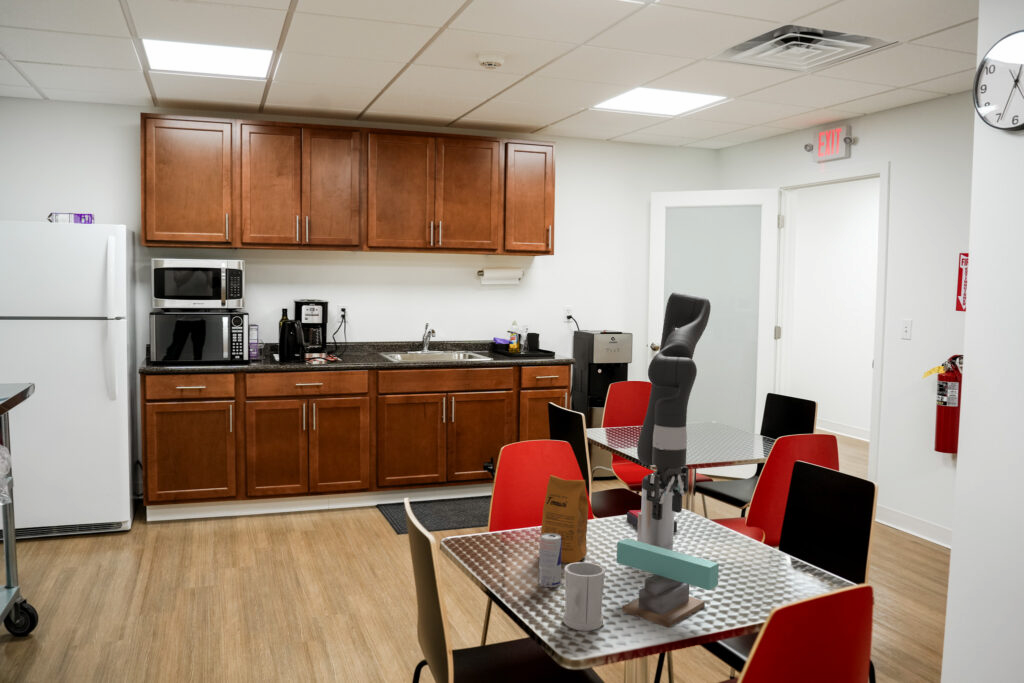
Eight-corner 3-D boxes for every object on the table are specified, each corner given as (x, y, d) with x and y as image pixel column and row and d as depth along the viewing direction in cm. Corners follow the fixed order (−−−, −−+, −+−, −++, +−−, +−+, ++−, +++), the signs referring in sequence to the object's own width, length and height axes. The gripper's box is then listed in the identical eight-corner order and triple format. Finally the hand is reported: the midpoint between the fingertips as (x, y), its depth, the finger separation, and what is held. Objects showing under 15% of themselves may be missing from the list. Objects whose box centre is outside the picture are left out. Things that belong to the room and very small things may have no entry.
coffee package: (552, 547, 217) (554, 470, 216) (591, 556, 210) (594, 477, 209) (534, 557, 209) (536, 477, 207) (574, 567, 202) (577, 484, 201)
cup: (608, 635, 162) (610, 579, 161) (565, 635, 161) (567, 579, 160) (599, 614, 172) (600, 561, 171) (558, 614, 171) (560, 561, 171)
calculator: (658, 508, 249) (677, 519, 234) (658, 521, 249) (677, 533, 234) (626, 509, 247) (643, 520, 232) (626, 522, 247) (643, 534, 232)
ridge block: (622, 611, 174) (623, 575, 173) (659, 592, 186) (660, 558, 185) (668, 627, 166) (670, 590, 165) (704, 606, 178) (705, 571, 177)
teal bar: (616, 562, 182) (617, 541, 182) (626, 558, 185) (626, 538, 185) (709, 590, 166) (710, 567, 166) (717, 585, 169) (718, 563, 169)
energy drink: (563, 581, 191) (564, 534, 190) (557, 589, 186) (558, 540, 185) (542, 578, 193) (543, 531, 192) (536, 586, 188) (537, 538, 187)
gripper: (671, 438, 181) (668, 506, 182) (638, 446, 171) (635, 518, 172) (700, 443, 176) (697, 513, 177) (667, 451, 166) (665, 525, 167)
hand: (667, 515), depth 175 cm, fingers open, 8 cm apart
